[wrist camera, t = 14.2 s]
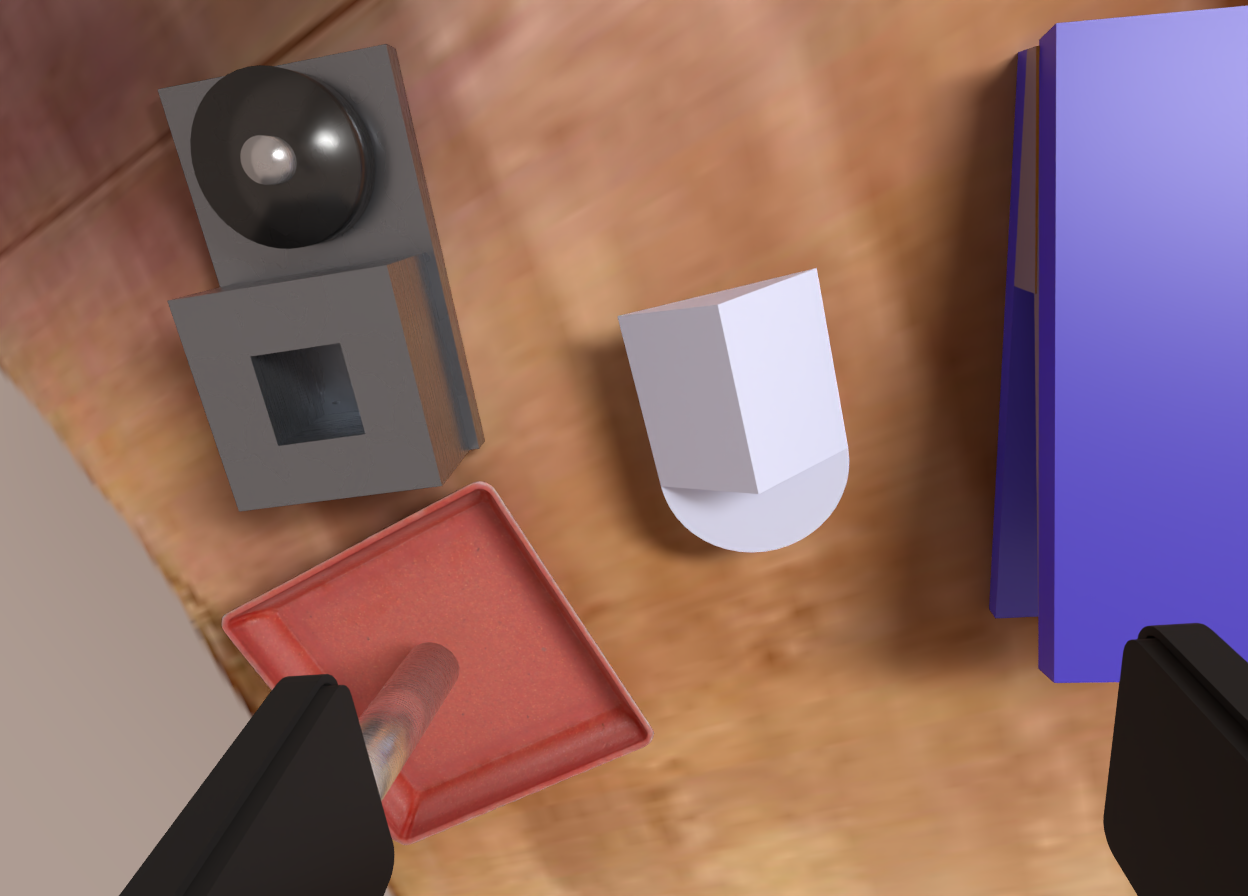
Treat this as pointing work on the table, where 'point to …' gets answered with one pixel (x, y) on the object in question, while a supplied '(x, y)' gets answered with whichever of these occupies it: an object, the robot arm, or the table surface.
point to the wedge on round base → (742, 410)
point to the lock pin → (406, 709)
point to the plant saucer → (479, 639)
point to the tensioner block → (319, 284)
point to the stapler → (1126, 339)
